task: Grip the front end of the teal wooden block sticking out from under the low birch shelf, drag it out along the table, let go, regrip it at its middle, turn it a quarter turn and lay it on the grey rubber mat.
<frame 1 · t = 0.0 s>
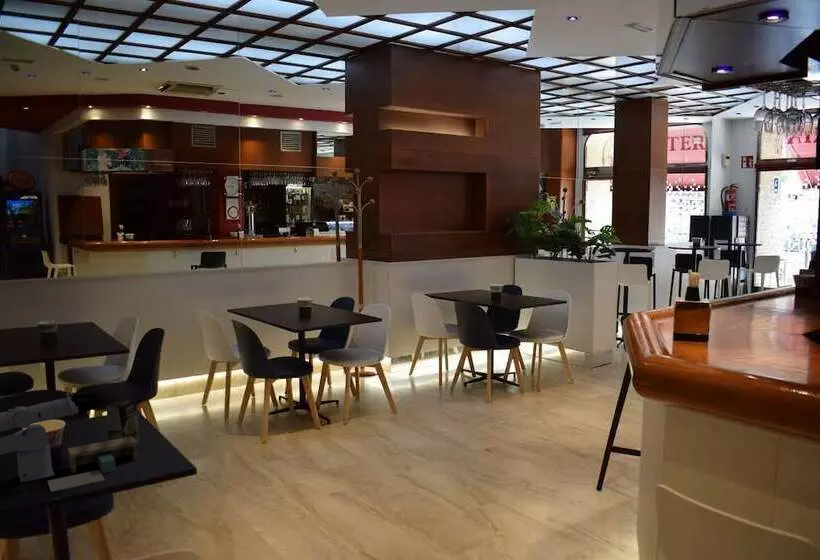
hand: (98, 398, 228), 22 cm above the table, tool horizontal, fingers open, 7 cm apart
mat: (76, 481, 214), on the table
coffee box: (124, 447, 245), on the table
shelf: (103, 463, 230), on the table
block: (106, 467, 227), on the table
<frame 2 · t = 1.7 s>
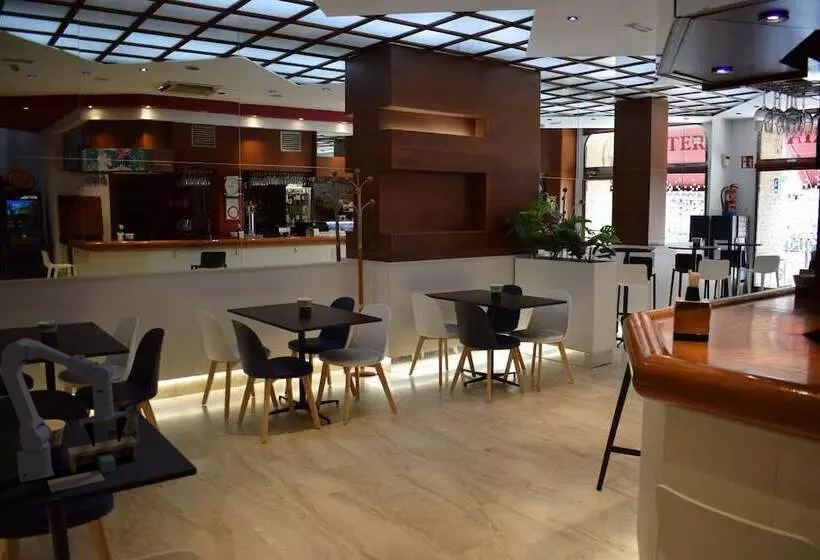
hand: (106, 443, 222), 9 cm above the table, tool pointing down, fingers open, 7 cm apart
nothing on the table moved.
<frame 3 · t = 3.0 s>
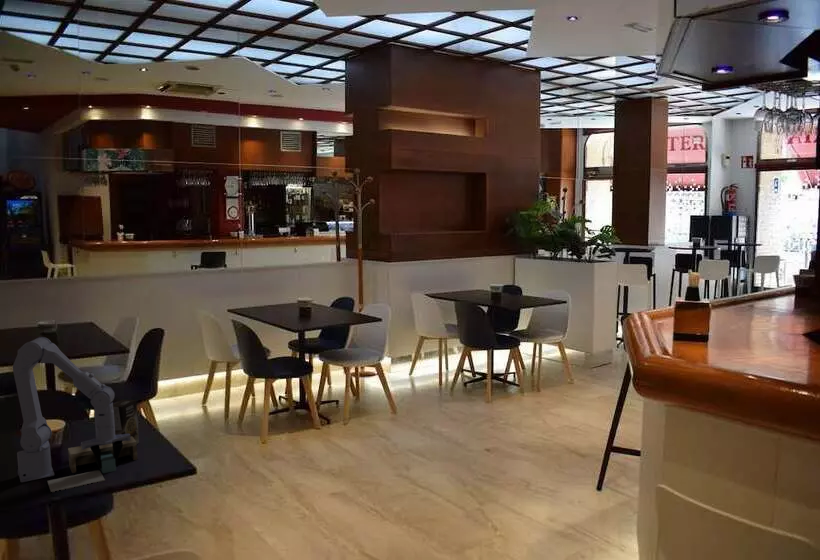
hand: (107, 466, 223), 1 cm above the table, tool pointing down, fingers closed on block, 4 cm apart
block: (105, 466, 227), on the table, touching gripper
everything else where it was.
when the fingers open (1 cm above the table, at t = 5.5 s): block stays where it is, on the table.
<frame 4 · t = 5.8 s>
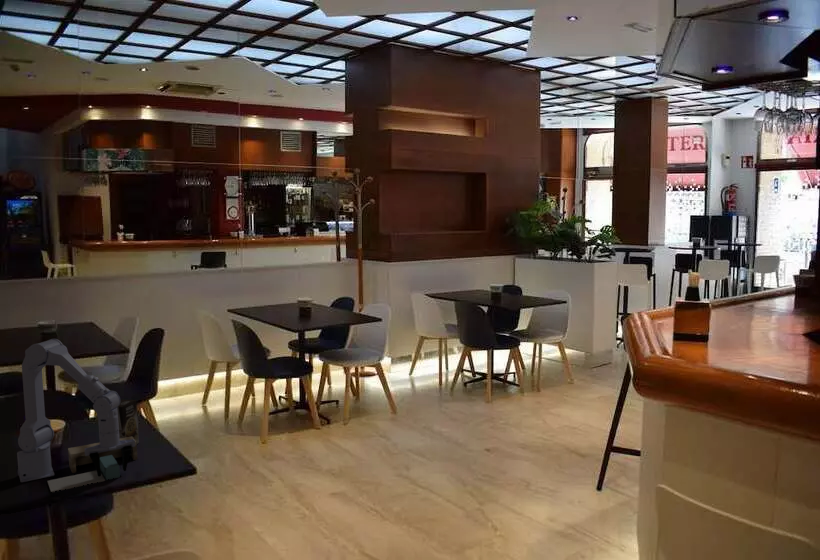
hand: (111, 472, 217), 1 cm above the table, tool pointing down, fingers open, 7 cm apart
block: (109, 473, 221), on the table
everything else where it was.
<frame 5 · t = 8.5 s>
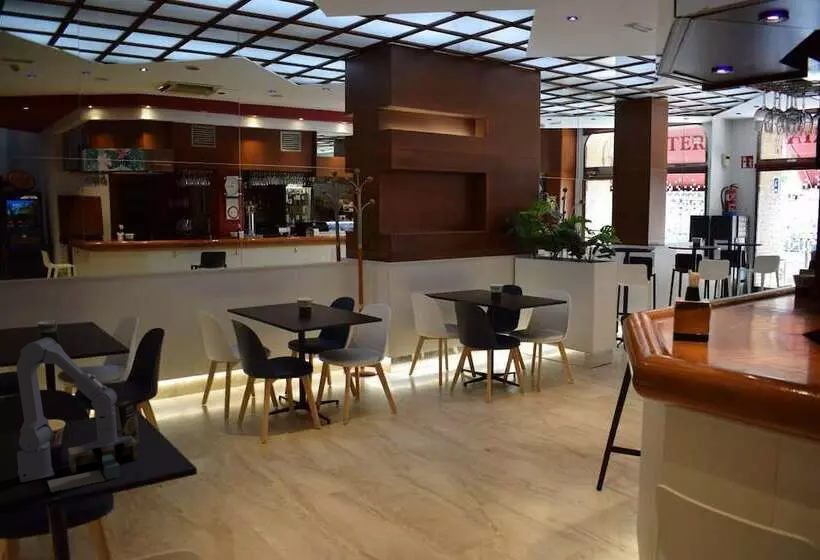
hand: (109, 468, 221), 1 cm above the table, tool pointing down, fingers closed on block, 4 cm apart
block: (109, 472, 221), on the table, touching gripper
everything else where it was.
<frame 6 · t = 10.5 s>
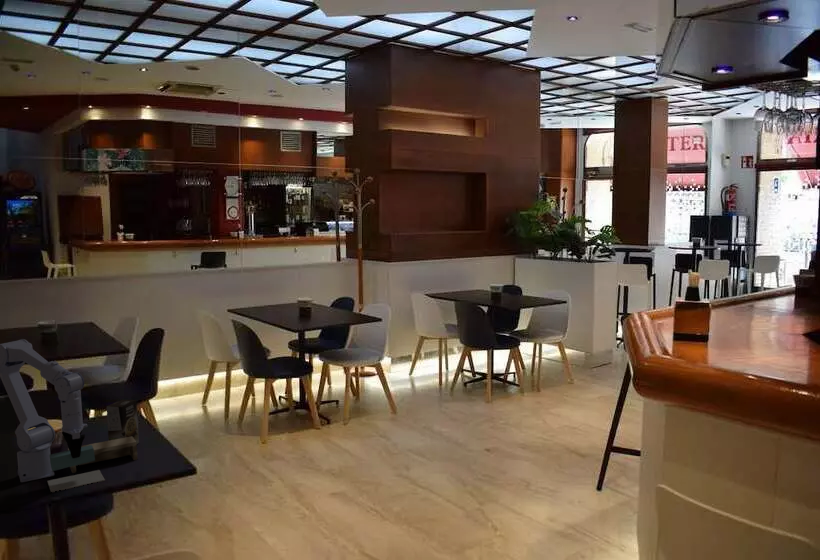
hand: (74, 455, 214), 8 cm above the table, tool pointing down, fingers closed on block, 4 cm apart
block: (73, 463, 214), point 6 cm above the table, touching gripper
everything else where it was.
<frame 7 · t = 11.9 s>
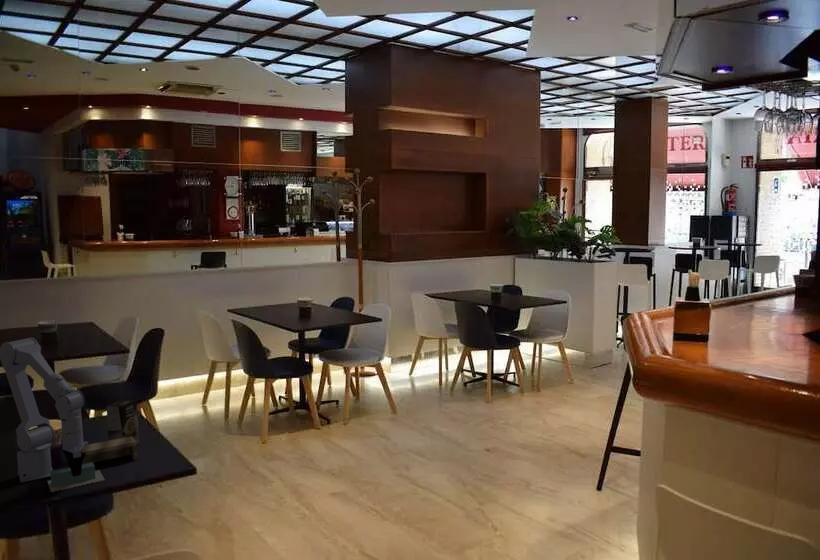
hand: (75, 473, 214), 3 cm above the table, tool pointing down, fingers closed on block, 4 cm apart
block: (73, 480, 214), resting on mat, touching gripper
everything else where it was.
when the fingers open (3 cm above the table, at t = 12.1 s): block stays where it is, resting on mat.
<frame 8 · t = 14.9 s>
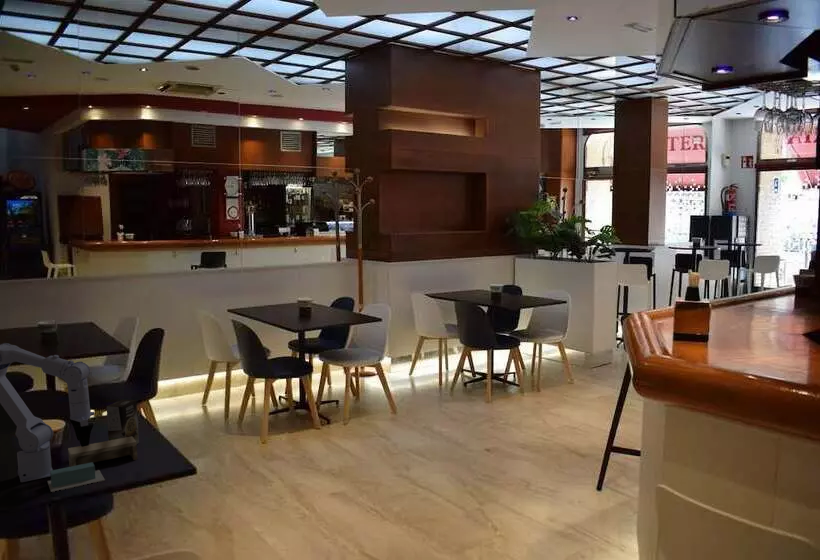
hand: (83, 442, 219), 10 cm above the table, tool pointing down, fingers open, 7 cm apart
block: (73, 480, 214), resting on mat
everything else where it was.
at the end: block 0.7 cm off-centre on the mat, point 0.4 cm above the mat's base; block moved 13.4 cm from its start; the gripper is holding nothing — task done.
